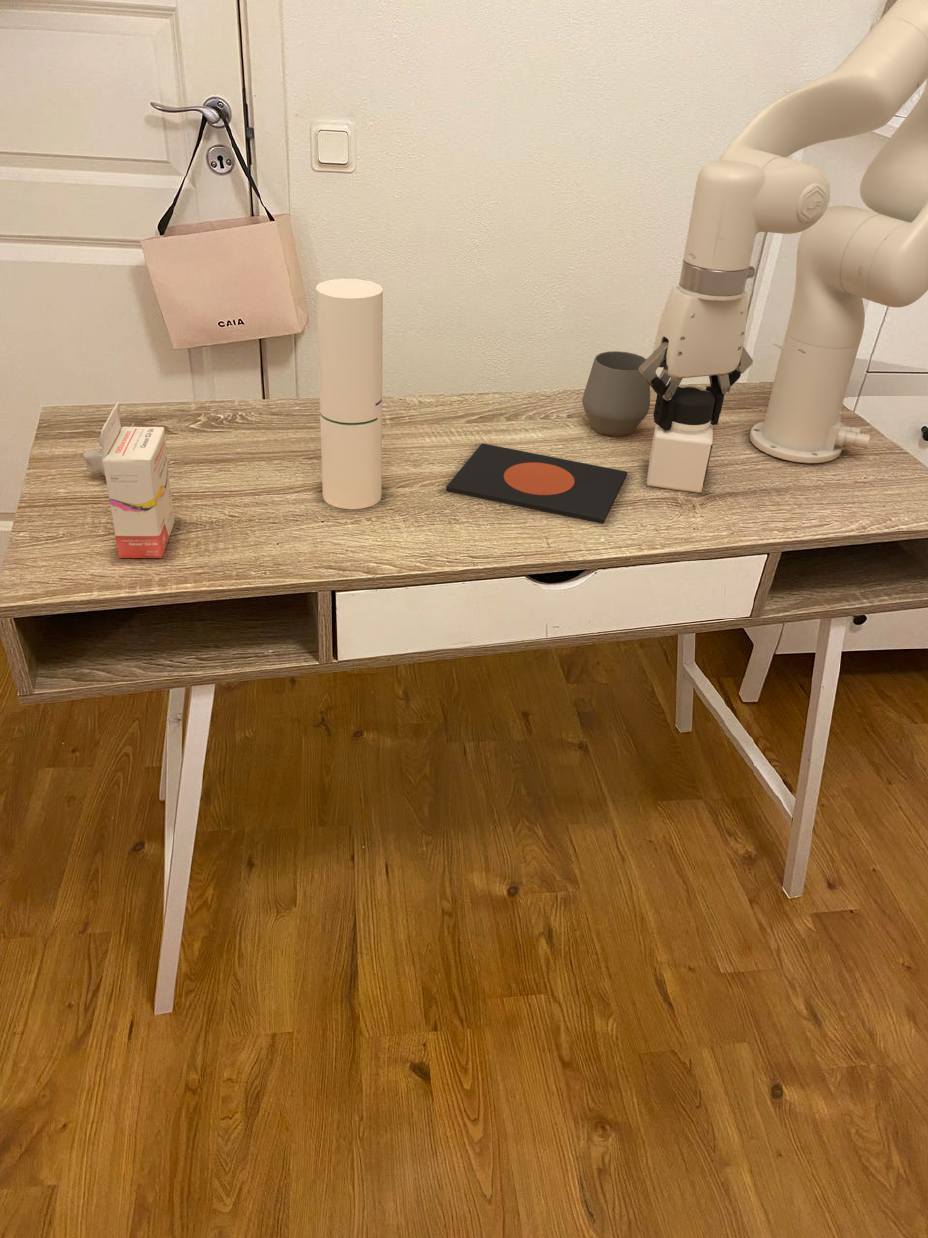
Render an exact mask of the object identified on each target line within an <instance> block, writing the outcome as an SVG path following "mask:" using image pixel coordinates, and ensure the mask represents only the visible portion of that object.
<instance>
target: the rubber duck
mask: <svg viewBox="0 0 928 1238" xmlns="http://www.w3.org/2000/svg"><path fill="white" fill-rule="evenodd" d="M113 426H114V422H113V423H111V428H110V430H109V434H110V432H111V430H112V429H113ZM98 439H99V440H98V444H99V446H100V447H102V437H101V433H100V435H99V438H98ZM82 458H83V460H84V461H85V462H86V470H87V472H89V473H92V474H96V473H101V474H102V475H103V476H104V477H105V471H104V465H103V453H102V448H101V449H100V450H98V449H89V450H86V451H85V452H84V453H83V454H82Z"/></svg>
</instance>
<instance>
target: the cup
mask: <svg viewBox="0 0 928 1238" xmlns="http://www.w3.org/2000/svg"><path fill="white" fill-rule="evenodd" d="M646 359H647V358H645V357H644V356H642V355H640V354H636V353H633V352H628V351H618V350H615V351H614V350H613V351H612V350H611V351H604V352H600V353H598V354H596V355H595V357H594V359H593V362H592V366H591V369H590V372H589V375H588V378H587V383H586V385H585V389H584V392H583V395H582V401H581V402H582V407H583V411H584V413H585V415H586V417H587V420H588V423H589V426H590V428H591V429H593V430H594V431H595V432H597V433H599V434H602V435H606V436H609V437H610V436H612V437H623V436H628V435H630V434H632V433H633V432H635V431H636V430H637V428H638V427H639V426H640V425H641V423H642V422H643V421H644V419H645V418H646V417H647V416H648V413H649V410H650V407H651V386H650V385H649V384H648V382H647V380H646V379H645V378H644V377H643V376H642V375H641V373H640V372H639V371H638V369H639V367H640V365H641V364H642V363H643V362H644V361H645V360H646Z"/></svg>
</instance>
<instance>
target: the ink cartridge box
mask: <svg viewBox="0 0 928 1238" xmlns="http://www.w3.org/2000/svg"><path fill="white" fill-rule="evenodd" d="M120 405H121V404H120V401H116V404H115V405H114V407H113V409H112V410H111V412H110V414H109V415H108V417H107V419H106V420H105V422H104V425H103V426H102V428H101V432H100V434H101V437H102V446H101V449H102V453H103V465H104V471H105V476H104V477H105V482H106V487H107V488H106V489H107V494H108V500H109V507H110V513H111V518H112V524H113V530H114V537H115V541H116V548H117V553H118V558H119V559H163V558H164V554H165V551H166V549H167V545H168V542H169V539H170V537H171V534H172V530H173V527H174V525H175V515H174V509H173V508H174V507H173V506H174V505H173V498H172V497H173V496H172V490H171V480H170V471H169V461H168V454H167V443H166V435H165V427H163V426H121V425H122V424H121V406H120ZM113 422H114V426H113V429H112V430H111V432H110V434H109V430H110V428H111V423H113Z"/></svg>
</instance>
